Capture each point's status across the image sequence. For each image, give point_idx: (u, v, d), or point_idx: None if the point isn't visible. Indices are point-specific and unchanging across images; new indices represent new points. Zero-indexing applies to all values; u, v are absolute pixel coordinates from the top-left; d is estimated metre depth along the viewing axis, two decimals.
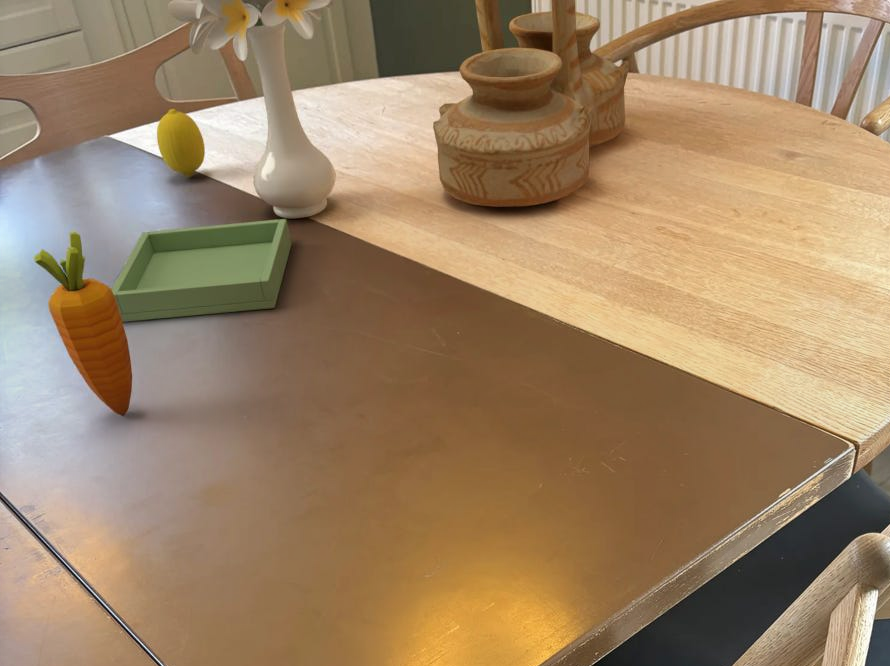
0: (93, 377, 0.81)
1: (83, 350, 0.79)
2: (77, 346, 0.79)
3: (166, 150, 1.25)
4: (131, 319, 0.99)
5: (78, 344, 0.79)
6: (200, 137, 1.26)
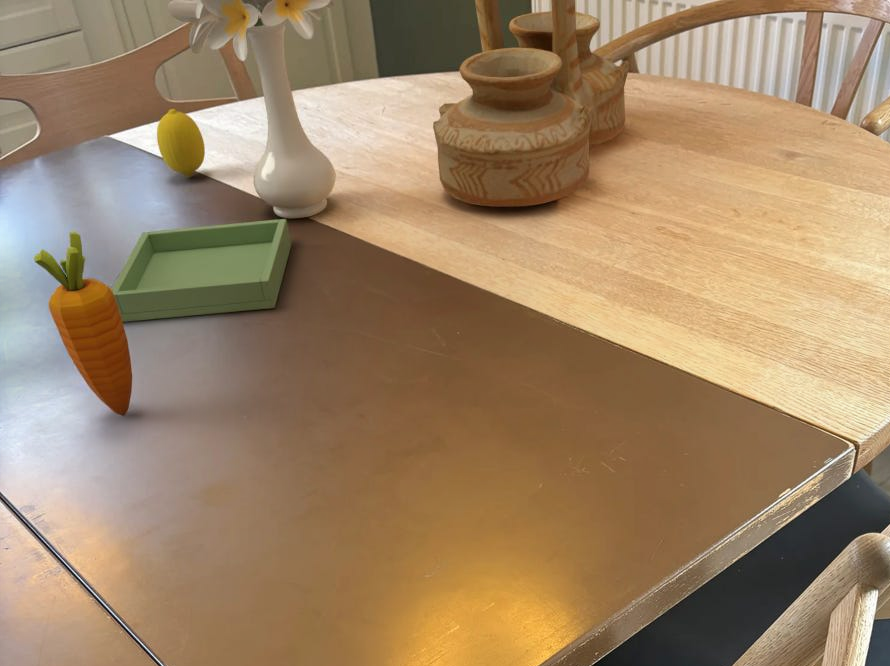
0: (93, 377, 0.81)
1: (84, 350, 0.79)
2: (77, 346, 0.79)
3: (166, 150, 1.25)
4: (131, 319, 0.99)
5: (78, 344, 0.79)
6: (200, 137, 1.26)
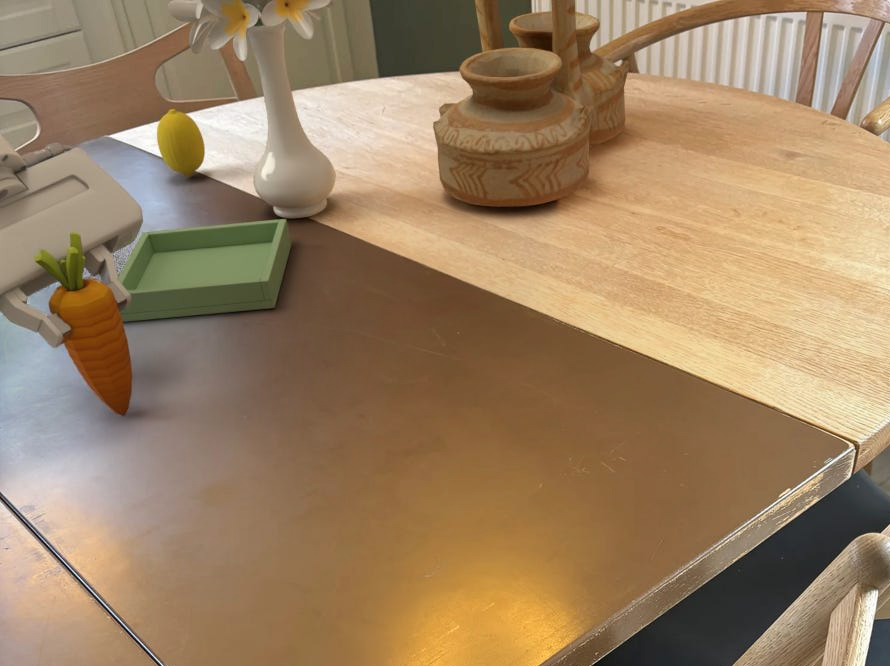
0: (93, 377, 0.81)
1: (84, 350, 0.79)
2: (77, 346, 0.79)
3: (166, 150, 1.25)
4: (131, 319, 0.99)
5: (78, 344, 0.79)
6: (200, 137, 1.26)
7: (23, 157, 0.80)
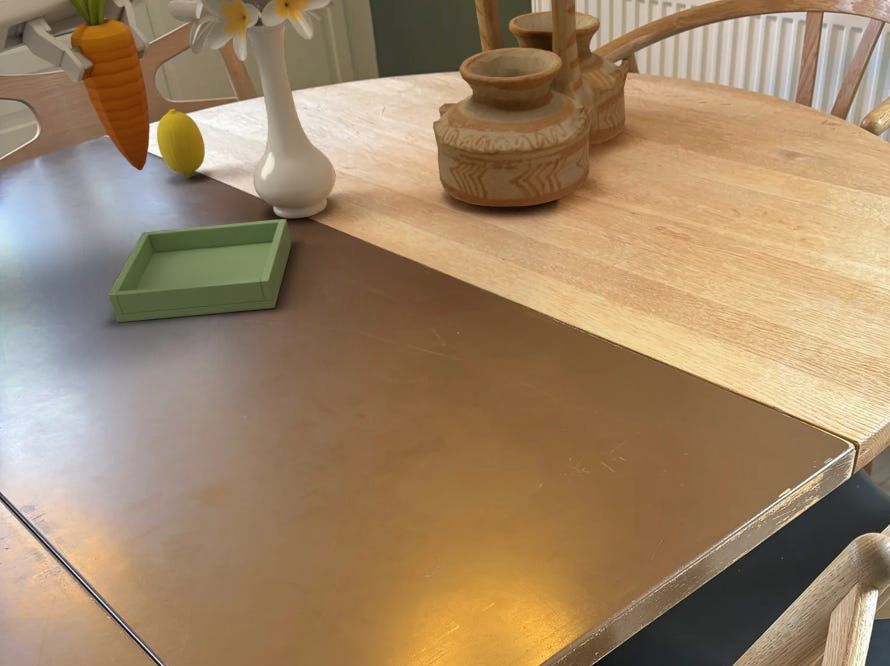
0: (112, 121, 0.85)
1: (104, 89, 0.83)
2: (97, 84, 0.83)
3: (166, 150, 1.25)
4: (131, 319, 0.99)
5: (99, 81, 0.82)
6: (200, 137, 1.26)
7: None
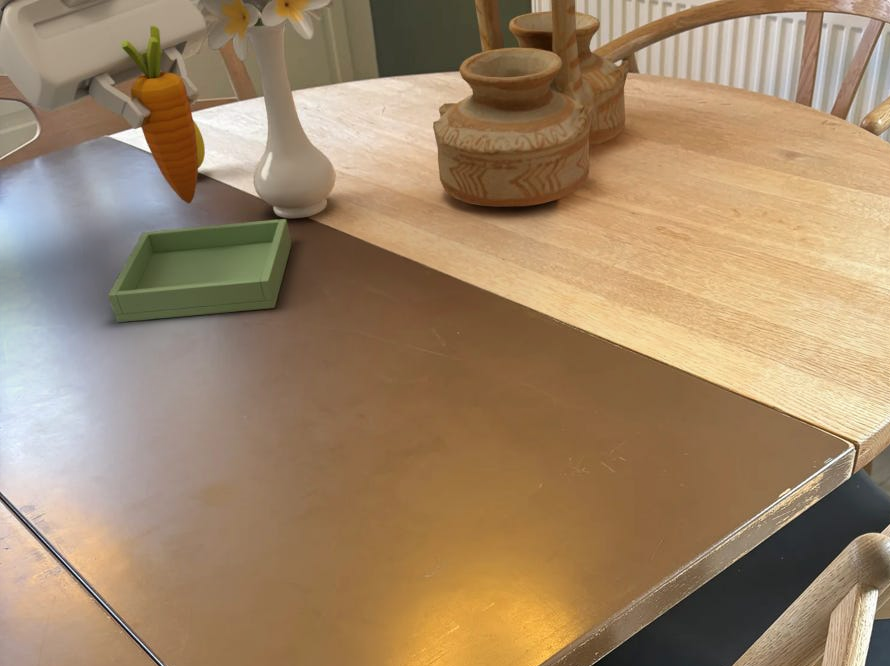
0: (166, 161, 0.95)
1: (160, 134, 0.93)
2: (154, 129, 0.93)
3: None
4: (131, 319, 0.99)
5: (155, 127, 0.93)
6: (200, 137, 1.26)
7: None
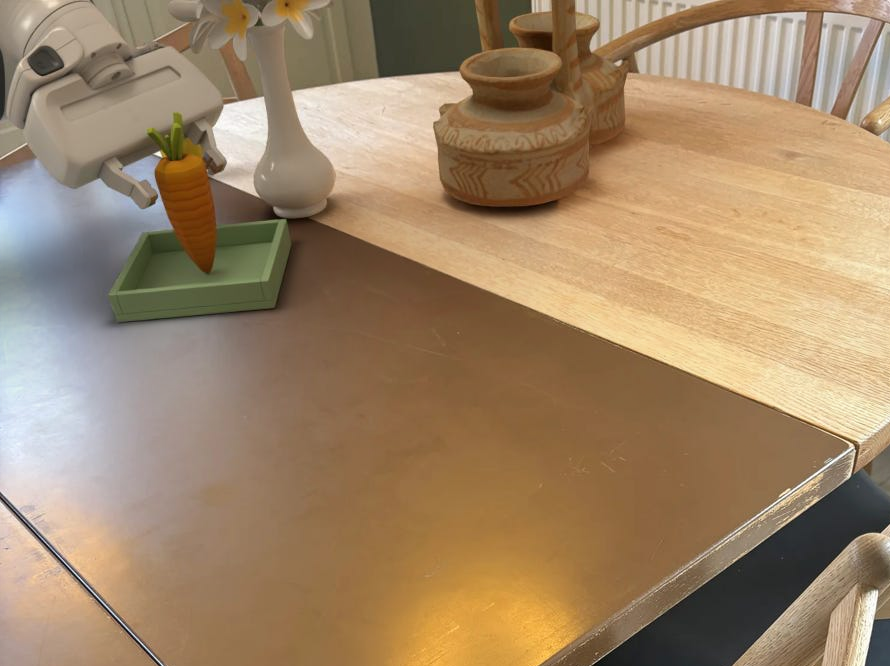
0: (187, 236, 1.00)
1: (181, 212, 0.98)
2: (176, 208, 0.98)
3: None
4: (131, 319, 0.99)
5: (177, 205, 0.97)
6: None
7: None
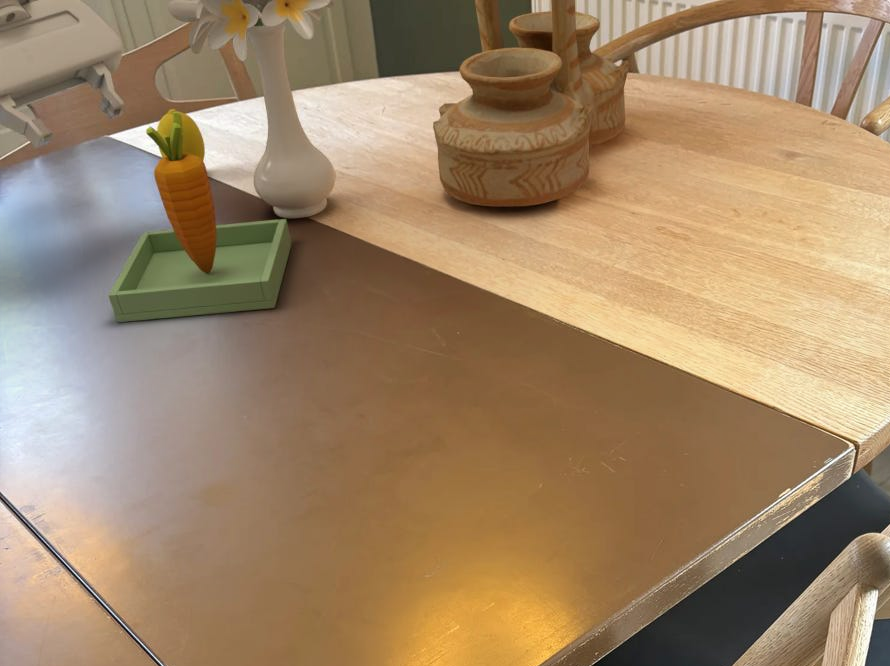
0: (187, 236, 1.00)
1: (181, 212, 0.98)
2: (176, 208, 0.98)
3: None
4: (131, 319, 0.99)
5: (177, 205, 0.97)
6: (200, 137, 1.26)
7: None
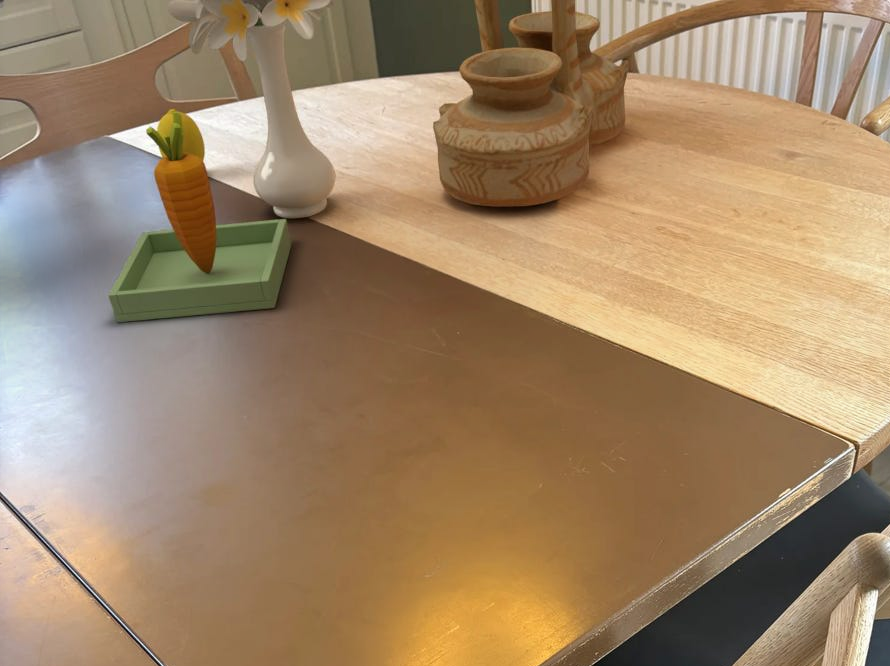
0: (187, 236, 1.00)
1: (181, 212, 0.98)
2: (176, 208, 0.98)
3: None
4: (131, 319, 0.99)
5: (177, 205, 0.97)
6: (200, 137, 1.26)
7: None
